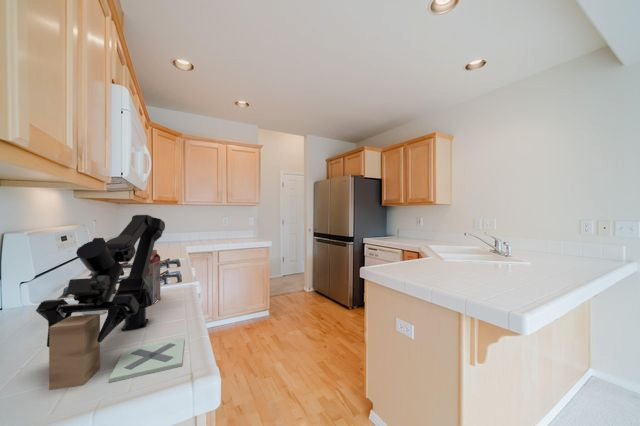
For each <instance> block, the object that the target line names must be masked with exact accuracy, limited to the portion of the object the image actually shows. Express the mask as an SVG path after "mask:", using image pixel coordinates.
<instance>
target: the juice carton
mask: <svg viewBox="0 0 640 426" xmlns="http://www.w3.org/2000/svg"><path fill="white" fill-rule="evenodd" d="M146 281H147V283H148V285H149V291H150V293H151V294H152V296H153V302H152V304H153V303H155V302H156V301H157V300H159V299H160V300H161V256H160V255H159V254H158V250H157V249H153V251H152V255H151V259H150V263H149V267H148V271H147V275H146ZM160 300H159V301H160ZM155 304H156V303H155Z"/></svg>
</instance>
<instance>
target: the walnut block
mask: <svg viewBox="0 0 640 426" xmlns="http://www.w3.org/2000/svg"><path fill="white" fill-rule="evenodd" d="M100 331H101V314H87V315H83V314H82V315H71V316H69V317H67V318H66V319H64V320H62V321H60V322H58V323H56V324H54V325H52V326H51V327H49V347H48V353H49V354H48V356H49V357H48V359H49V360H48V371H49V373H48V390H49V391H51V390H52V391H53V390H57V389H66V388H74V387H80V386H85V384H86V383H88V382H89V380H90V379H91V378H93V377H94V376H95V374H97V373H98V372H99V371H100V369H101V342H98V341H97V339H98V336H99V333H100Z"/></svg>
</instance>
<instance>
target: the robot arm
mask: <svg viewBox="0 0 640 426" xmlns="http://www.w3.org/2000/svg"><path fill="white" fill-rule="evenodd" d="M165 228H166V223H165V221H164V220H162V219H161V218H157V217H154V216H152V215H150V214H135V215H132V216H131V220H130V221H129V223H128V224H127V225H126V226H125V227H124V228H123V230H122V231H121V232H120V233H119V235H118V236H115V237H113V238H110V239H108V240H107V241H105V239H104V237H94V238H93V239H92V240H91V241H88V242H86V243H84V244H82V245H81V246H80V247H78V248H77V250H76V256H77V258H79V260H80V261H81V263H82V264H83V265H84V266H85V267H86V269H87V270H88V271H90V272H93V273H92V274H91V277H90V278H74V279H73V278H72V279H69V281H68V285H67V289H66V291H65V295H71V296H73V298H72V299H73V300H74V301H76V302H77V303H71V304H69V303H68V302H67V301H66V300H65V299H64V298H60V299H46V300H44V301H41V302H40V303H39V305H38V306H37V308H36V309H35V312H36V313H38V314H39V315H40V316H41V317H42V318H43V319H45V320H46V321H47V323H48V324H47V325H48V329H47V339H46V341H47V342H46V347H48V348H49V327H51V326H52V325H54V324H56V323H58V322H60V321H62V320H64V319H66V318H67V317H69V316H72V314H74V313H83V312H88V311H100V310H108V312H107V316H106V318H105V320H104V322H103V325H102V327H101V328H100V333H99V336H98V339H97V341H98V342H100V343H102V342H103V341H104V339H106V337H108V335H109V334H111V332H112V331H113V330H115V329H116V327H118V326H119V325H120V324H121V323H122V322H123V321H124V324H123V326H122V327H121V328H120V330H121V331H123V332H124V331H127V330H133V329H134V330H135V329H141V328H145V327H147V325H148V322H149V321H150V319H149V318H147V308H148V307H150V306H153V305H152V302H153V296H152V294H151V293H150V291H149V285H148V283H147V281H146V275H147V271H148V267H149V263H150V259H151V255H152V251H153V250H154V247H155V243H156V242H157V241H158V240H159V239H160V238H161V237H162V235H163V233H164V231H165ZM137 242H138V244H137V248H135V245H136V243H137ZM131 261H132V264H131V268H130V271H129V275H128V276H127V277H126V278H121V280H120V281H119V279H120V277H122V276H123V277H124V275H125V270H124V266H123V265H122V264H121V263H129V262H131ZM118 282H119V284H118V287H117V283H118ZM115 286H116V287H117V288H116V289H115ZM115 293H116V294H115ZM112 294H115V296H114V297H113V300H112V301H110V302H109V300H110V298H111V296H112Z"/></svg>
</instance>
